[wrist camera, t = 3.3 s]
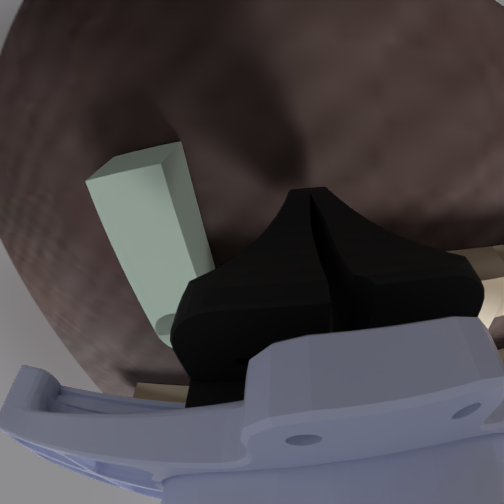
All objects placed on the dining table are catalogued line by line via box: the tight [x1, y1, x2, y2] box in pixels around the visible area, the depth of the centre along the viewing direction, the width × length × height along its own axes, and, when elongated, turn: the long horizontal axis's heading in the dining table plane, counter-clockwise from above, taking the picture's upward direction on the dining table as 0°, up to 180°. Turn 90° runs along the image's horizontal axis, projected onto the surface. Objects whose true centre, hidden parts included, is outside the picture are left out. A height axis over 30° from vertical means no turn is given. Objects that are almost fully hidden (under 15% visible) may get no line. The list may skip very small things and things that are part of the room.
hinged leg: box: [86, 141, 216, 348], centre depth 13 cm, size 10×3×3 cm, turn 9°
